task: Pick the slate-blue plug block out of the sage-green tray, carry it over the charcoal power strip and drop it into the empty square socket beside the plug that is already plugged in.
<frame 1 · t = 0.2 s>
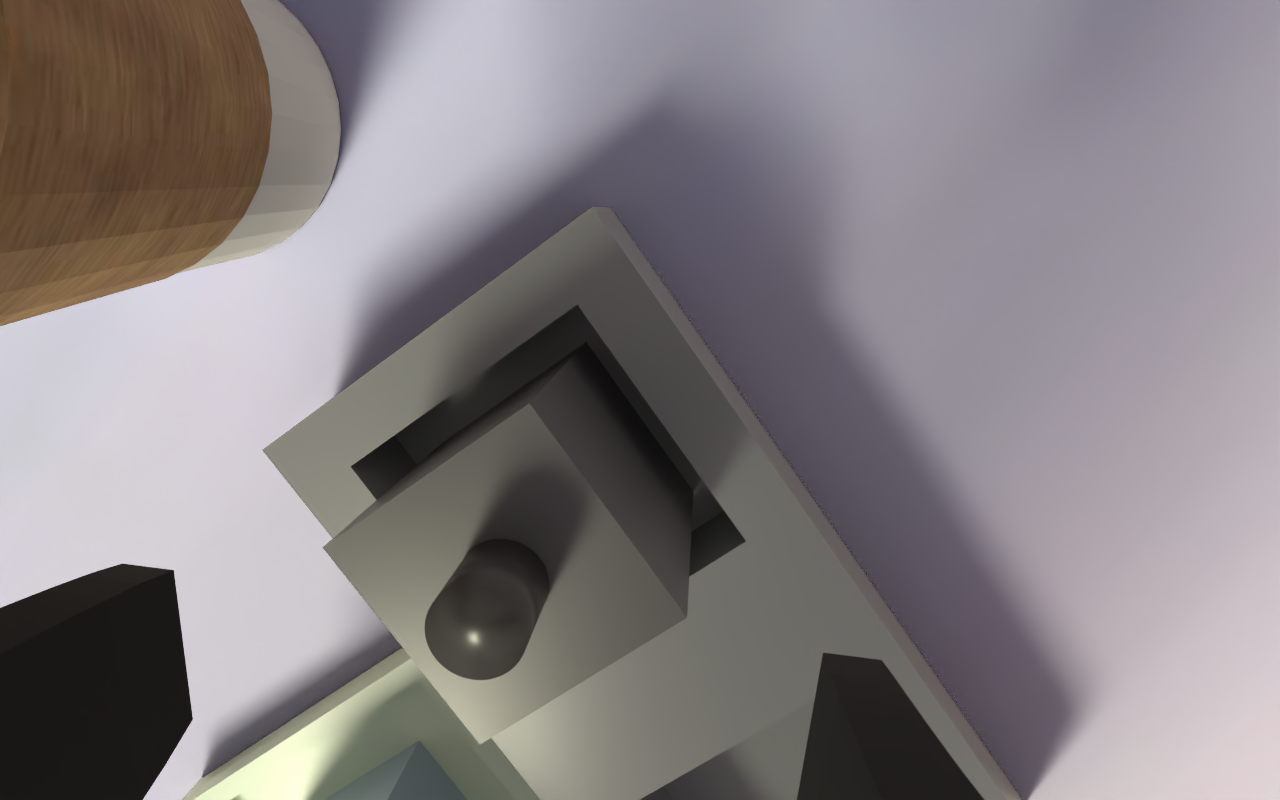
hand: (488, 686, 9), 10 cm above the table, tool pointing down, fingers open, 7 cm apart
power strip: (683, 613, 20), on the table
coffee cup: (214, 120, 19), on the table
twin plug: (566, 467, 19), point 1 cm above the table, touching power strip
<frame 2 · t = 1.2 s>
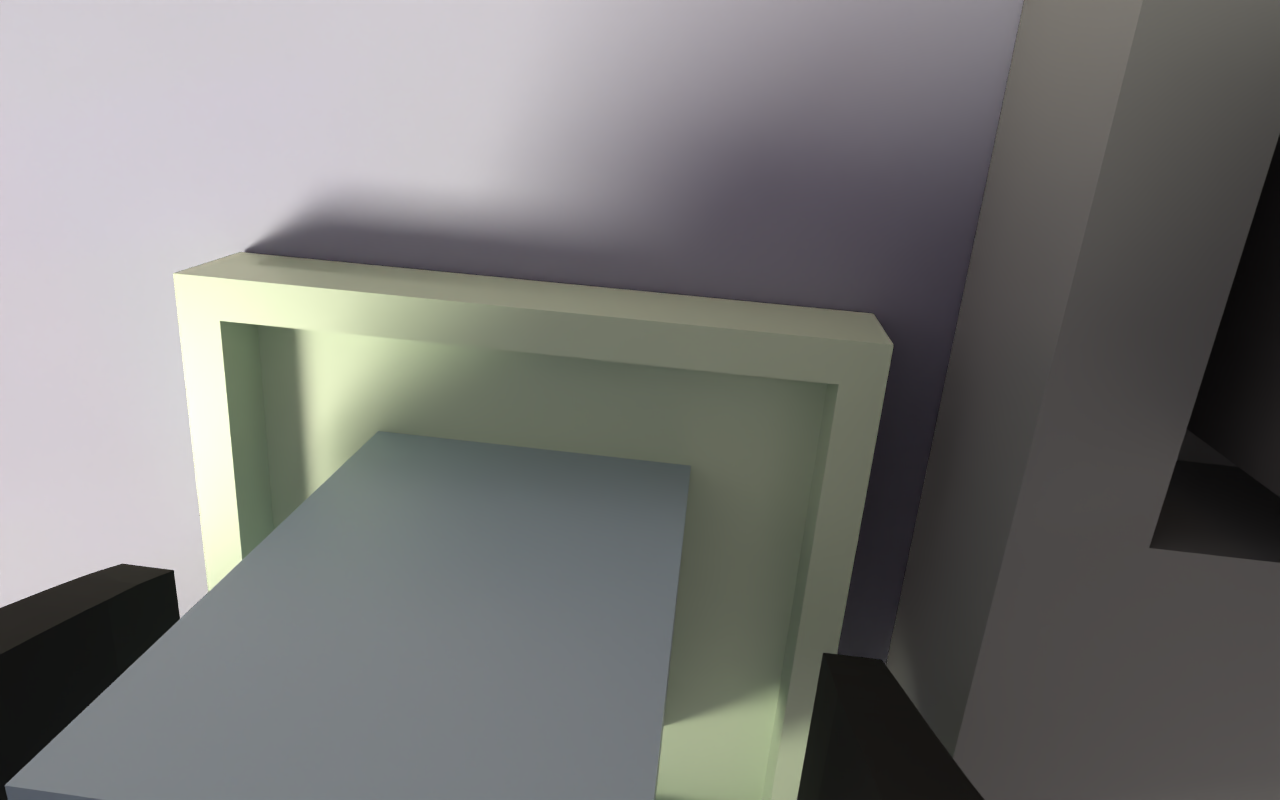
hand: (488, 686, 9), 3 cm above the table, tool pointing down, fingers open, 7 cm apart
plug: (527, 585, 11), point 1 cm above the table, touching tray
tray: (537, 562, 12), on the table
power strip: (1225, 577, 11), on the table
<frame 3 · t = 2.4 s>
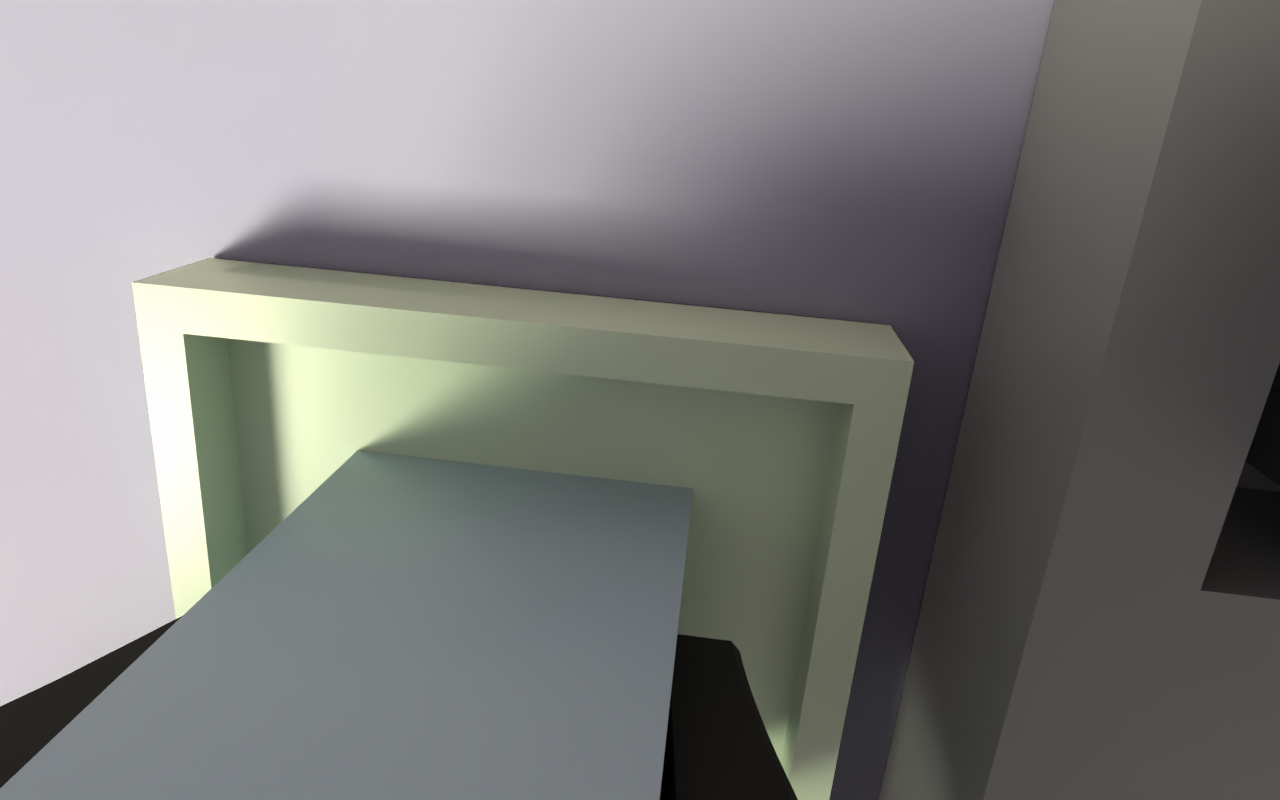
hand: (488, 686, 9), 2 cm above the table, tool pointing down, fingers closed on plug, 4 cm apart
plug: (518, 614, 11), point 1 cm above the table, touching gripper, tray
tray: (529, 588, 11), on the table
power strip: (1268, 608, 10), on the table
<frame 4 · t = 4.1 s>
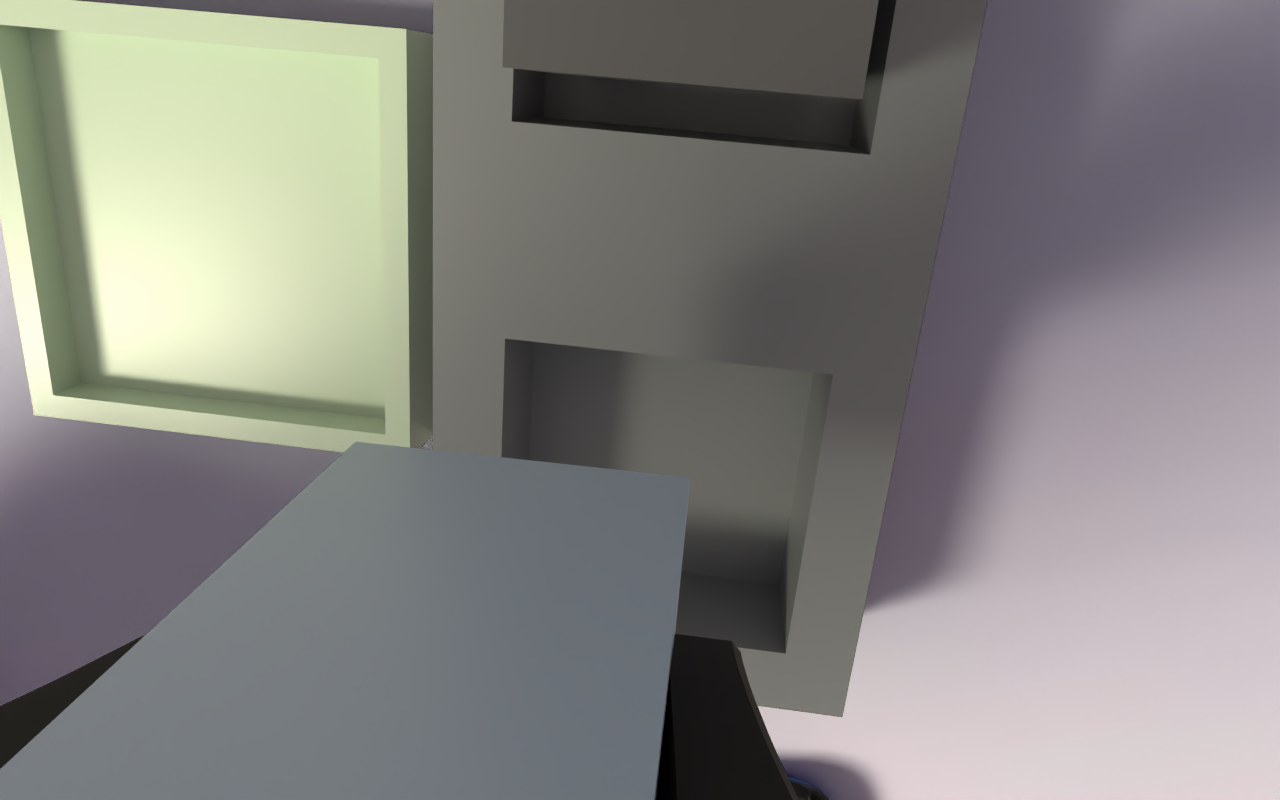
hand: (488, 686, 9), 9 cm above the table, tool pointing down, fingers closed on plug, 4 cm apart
plug: (517, 605, 11), point 8 cm above the table, touching gripper
tray: (241, 230, 17), on the table
power strip: (686, 224, 17), on the table
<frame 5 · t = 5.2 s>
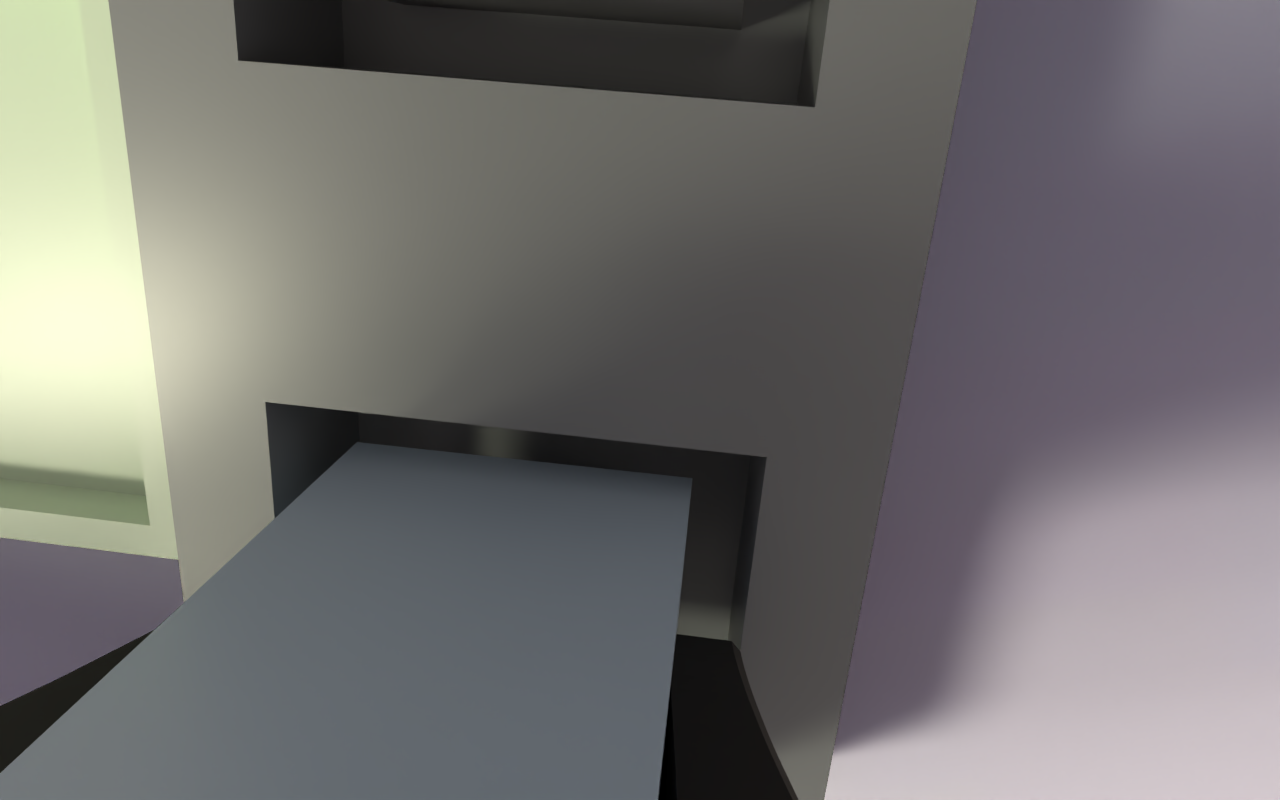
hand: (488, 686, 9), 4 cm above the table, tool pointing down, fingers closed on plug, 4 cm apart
plug: (518, 605, 11), point 2 cm above the table, touching gripper
power strip: (568, 225, 11), on the table
when the fingers open (3 cm above the table, at t = 6.1 s): plug drops 1 cm, resting on power strip.
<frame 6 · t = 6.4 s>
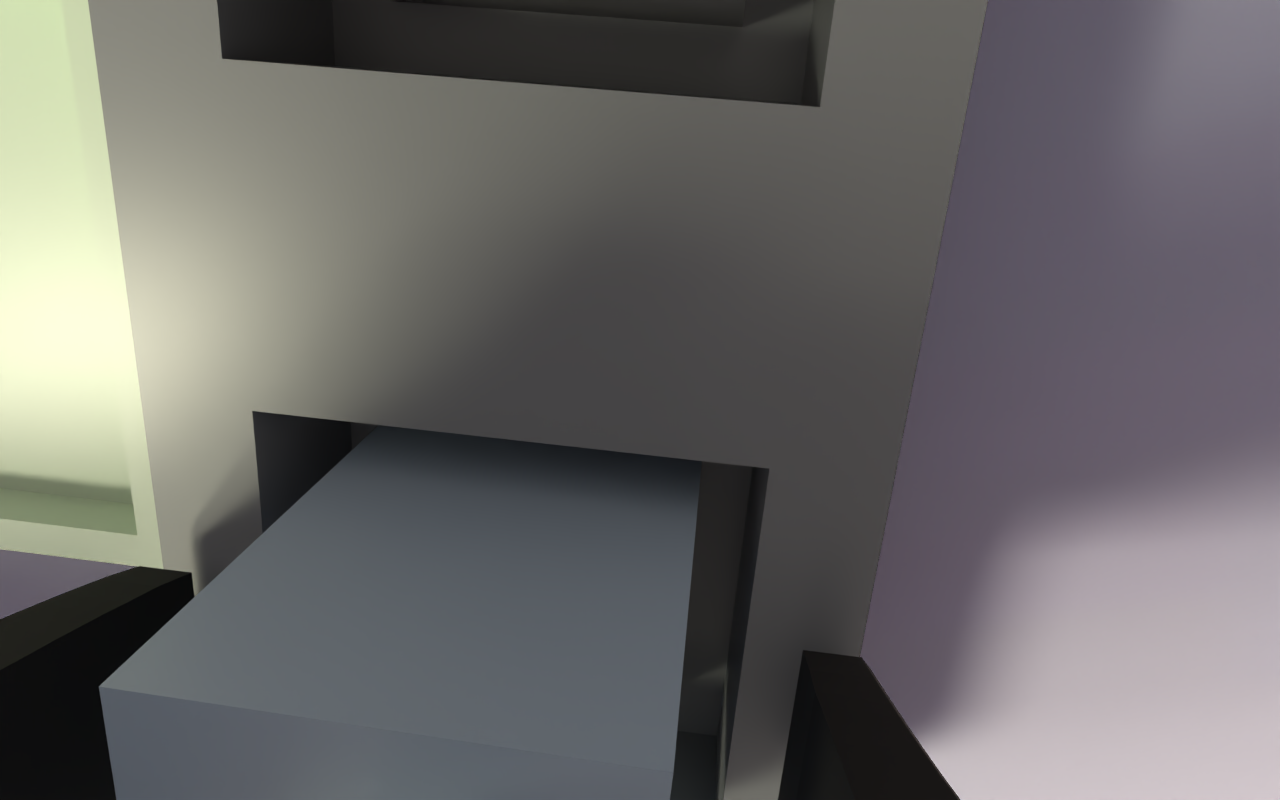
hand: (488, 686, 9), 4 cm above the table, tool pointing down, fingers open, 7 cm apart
plug: (546, 547, 12), point 1 cm above the table, touching power strip
power strip: (565, 227, 11), on the table
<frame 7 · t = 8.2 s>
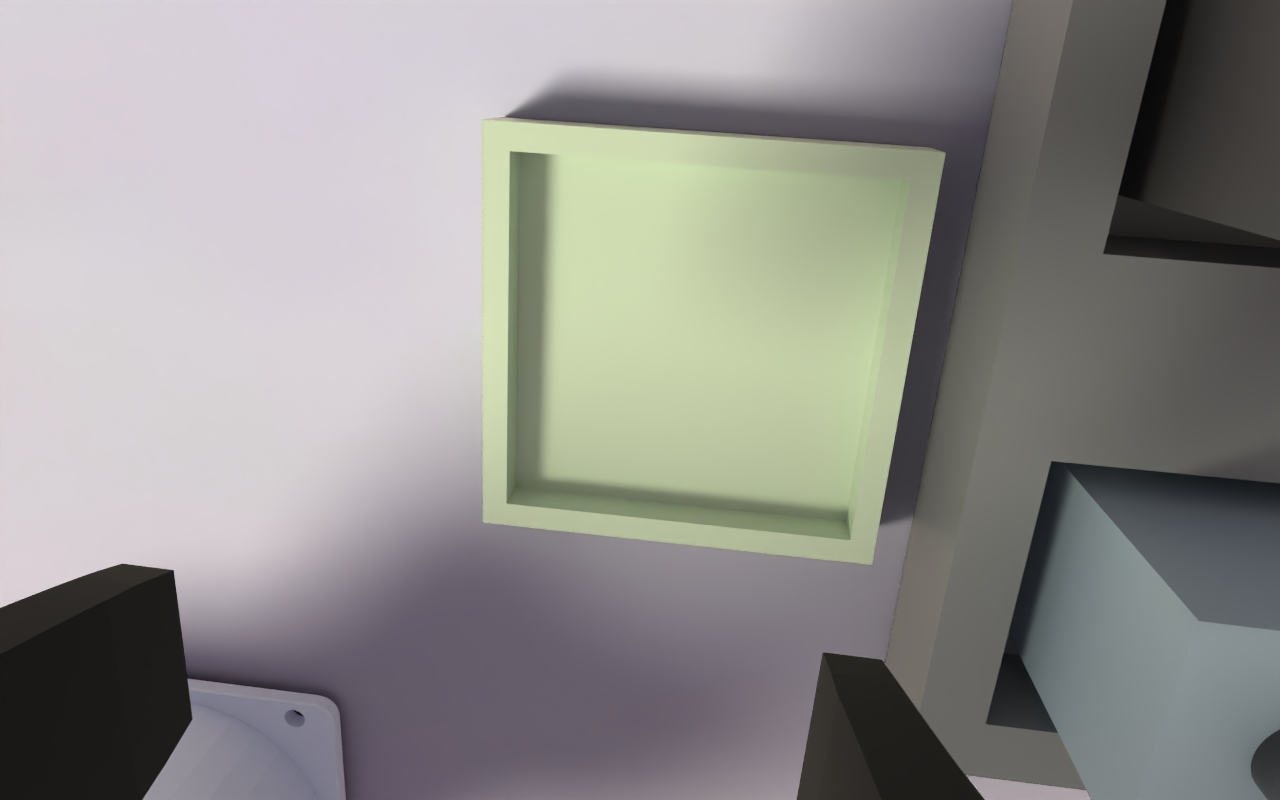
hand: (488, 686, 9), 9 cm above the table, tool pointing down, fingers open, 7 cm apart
plug: (1123, 545, 17), point 1 cm above the table, touching power strip
tray: (693, 336, 18), on the table
power strip: (1166, 328, 16), on the table
twin plug: (1257, 77, 14), point 1 cm above the table, touching power strip
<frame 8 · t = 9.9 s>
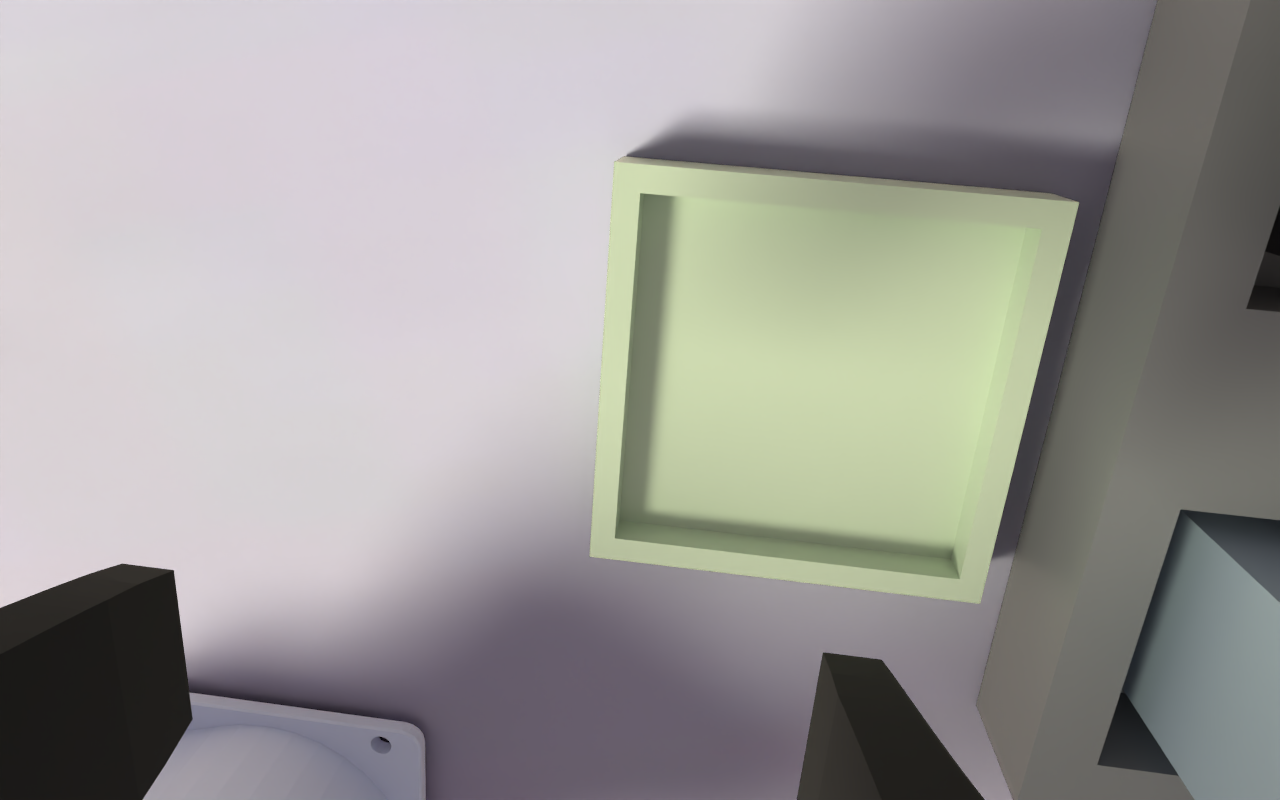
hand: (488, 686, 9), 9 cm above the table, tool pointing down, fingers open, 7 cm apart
plug: (1227, 586, 18), point 1 cm above the table, touching power strip
tray: (803, 374, 18), on the table
power strip: (1279, 374, 17), on the table
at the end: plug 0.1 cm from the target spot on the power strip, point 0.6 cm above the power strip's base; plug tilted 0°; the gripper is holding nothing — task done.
